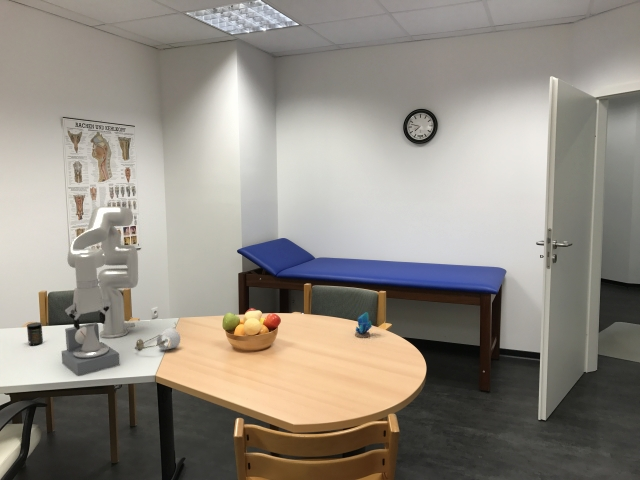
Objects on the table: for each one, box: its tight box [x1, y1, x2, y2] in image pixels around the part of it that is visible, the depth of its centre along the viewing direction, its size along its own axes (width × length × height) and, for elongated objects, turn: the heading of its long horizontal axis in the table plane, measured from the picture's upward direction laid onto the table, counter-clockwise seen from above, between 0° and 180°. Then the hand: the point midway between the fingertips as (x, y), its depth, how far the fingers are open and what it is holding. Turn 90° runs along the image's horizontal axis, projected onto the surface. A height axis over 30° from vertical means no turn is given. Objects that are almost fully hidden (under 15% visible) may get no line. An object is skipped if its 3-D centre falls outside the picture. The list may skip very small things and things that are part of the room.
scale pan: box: [73, 344, 110, 358], centre depth 204 cm, size 13×13×1 cm
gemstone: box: [354, 311, 373, 339], centre depth 240 cm, size 7×9×12 cm
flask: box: [81, 323, 102, 352], centre depth 203 cm, size 7×7×10 cm
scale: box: [61, 322, 121, 377], centre depth 205 cm, size 16×18×14 cm
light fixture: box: [134, 322, 181, 351], centre depth 232 cm, size 9×18×40 cm
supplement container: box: [26, 322, 44, 347], centre depth 228 cm, size 6×6×9 cm
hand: (90, 325), depth 203 cm, fingers open, 9 cm apart
